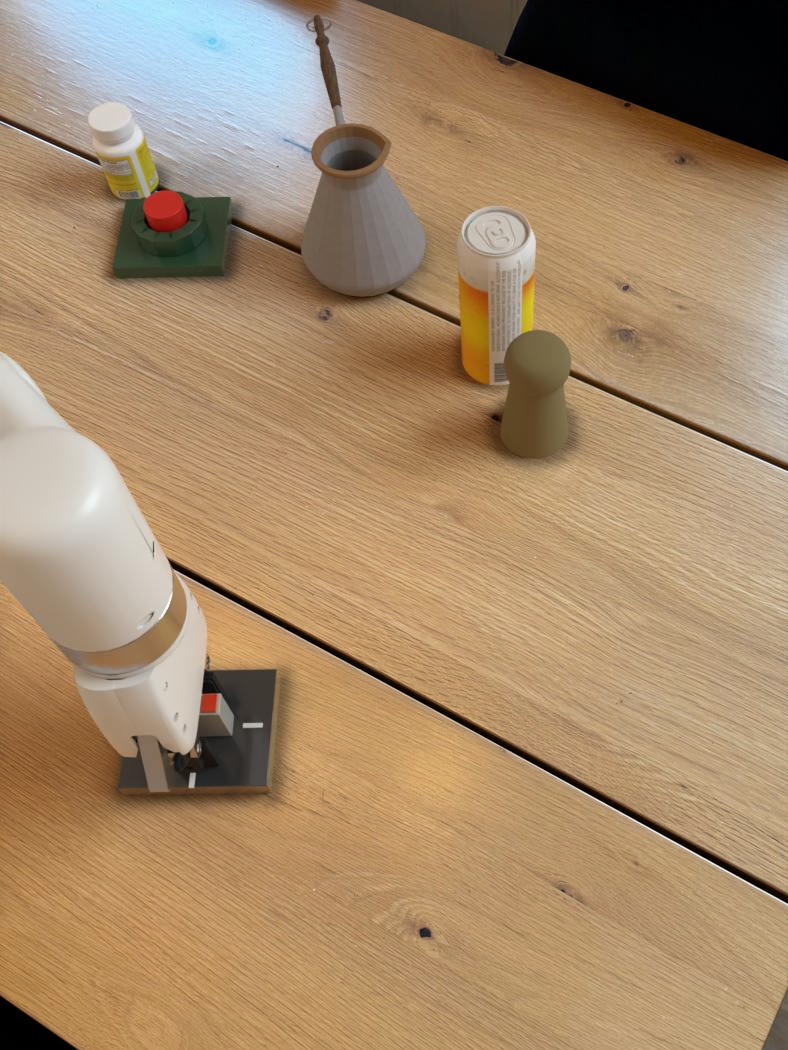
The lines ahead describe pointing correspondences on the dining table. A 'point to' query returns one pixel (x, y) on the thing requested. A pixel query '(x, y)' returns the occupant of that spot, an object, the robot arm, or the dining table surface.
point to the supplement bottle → (122, 152)
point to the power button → (165, 211)
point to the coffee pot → (357, 205)
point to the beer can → (494, 288)
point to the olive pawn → (536, 395)
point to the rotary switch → (228, 742)
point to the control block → (175, 241)
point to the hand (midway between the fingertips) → (200, 730)
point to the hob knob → (214, 716)
